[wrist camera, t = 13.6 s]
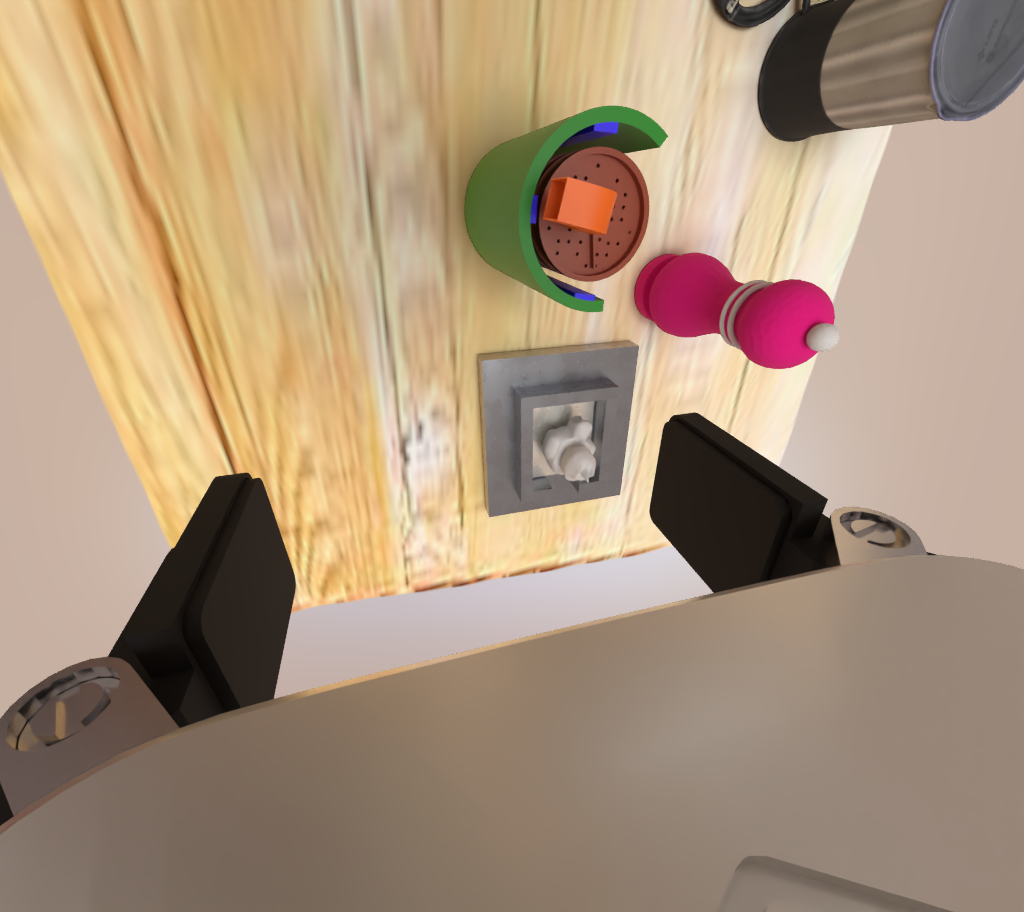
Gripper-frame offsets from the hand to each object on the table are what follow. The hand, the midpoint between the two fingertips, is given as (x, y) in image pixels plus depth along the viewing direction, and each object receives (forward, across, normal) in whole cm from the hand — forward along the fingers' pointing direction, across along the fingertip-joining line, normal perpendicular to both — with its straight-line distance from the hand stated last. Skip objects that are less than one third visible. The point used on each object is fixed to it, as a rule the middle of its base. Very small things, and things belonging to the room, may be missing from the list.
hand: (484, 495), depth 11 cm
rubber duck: (+31, -14, +16) cm, 38 cm away
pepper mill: (+34, -25, +2) cm, 42 cm away
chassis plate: (+33, -14, +16) cm, 40 cm away
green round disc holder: (+34, -10, -5) cm, 35 cm away
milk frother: (+34, -33, -17) cm, 50 cm away
